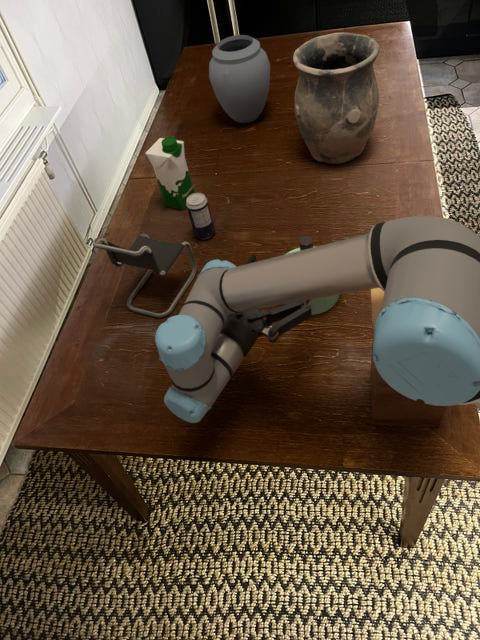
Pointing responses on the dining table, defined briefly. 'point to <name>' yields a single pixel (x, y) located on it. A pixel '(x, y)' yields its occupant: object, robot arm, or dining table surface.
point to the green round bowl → (322, 304)
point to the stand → (387, 400)
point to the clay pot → (336, 95)
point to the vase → (240, 77)
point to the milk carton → (171, 171)
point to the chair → (148, 263)
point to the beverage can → (200, 215)
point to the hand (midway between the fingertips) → (283, 269)
